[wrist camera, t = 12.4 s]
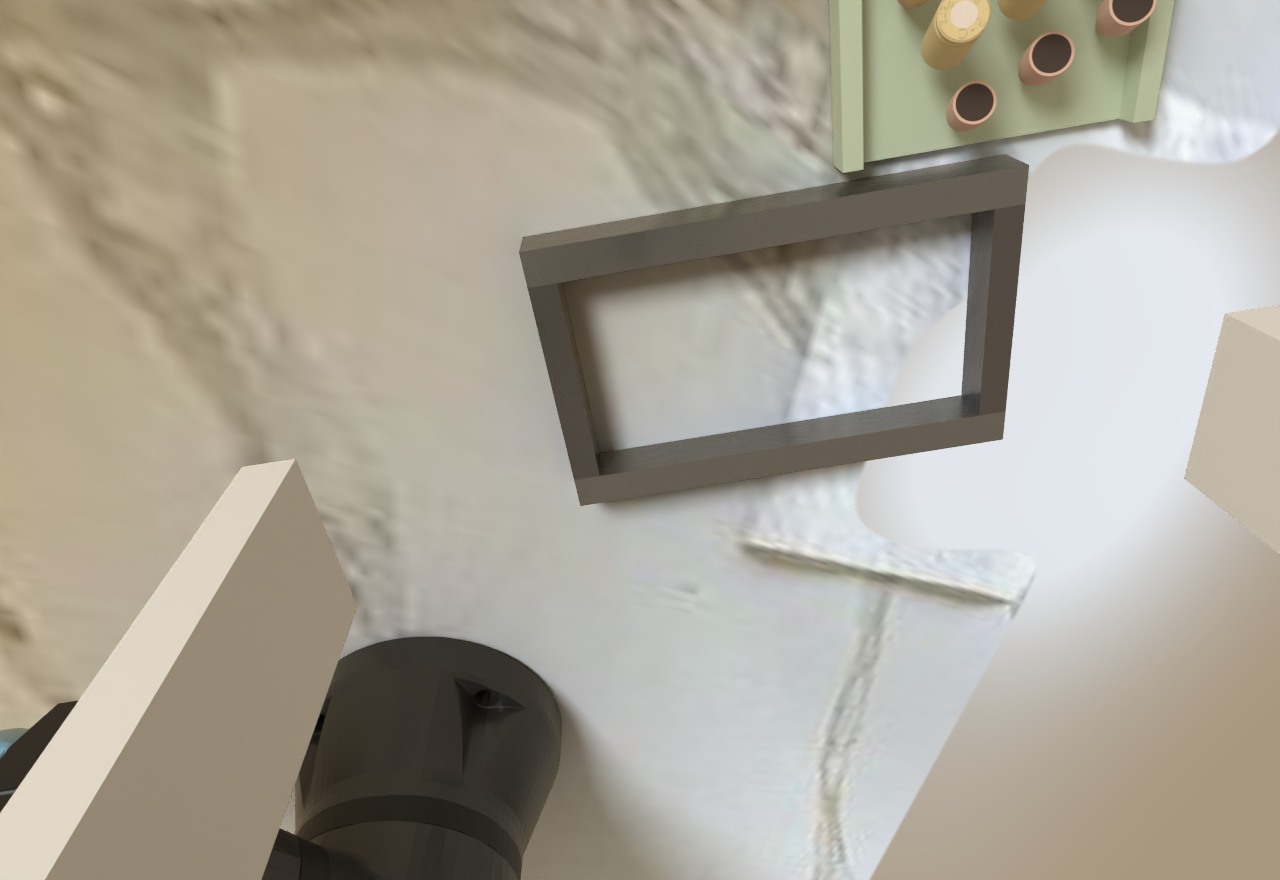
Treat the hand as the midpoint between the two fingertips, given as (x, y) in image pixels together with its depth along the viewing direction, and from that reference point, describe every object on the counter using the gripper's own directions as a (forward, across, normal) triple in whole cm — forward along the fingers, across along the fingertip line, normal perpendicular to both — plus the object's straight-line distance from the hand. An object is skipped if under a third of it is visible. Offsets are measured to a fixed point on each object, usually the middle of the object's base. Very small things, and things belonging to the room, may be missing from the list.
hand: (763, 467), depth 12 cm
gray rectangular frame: (+23, -5, +8) cm, 25 cm away
